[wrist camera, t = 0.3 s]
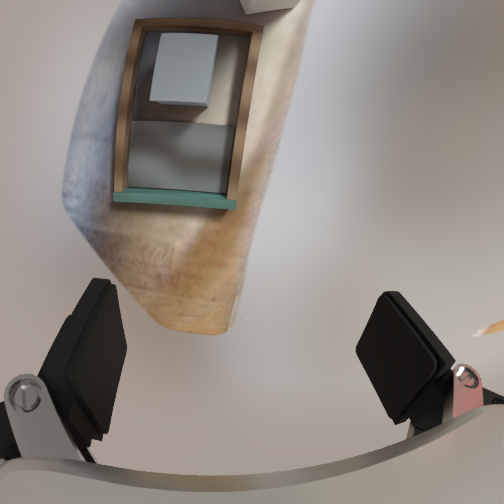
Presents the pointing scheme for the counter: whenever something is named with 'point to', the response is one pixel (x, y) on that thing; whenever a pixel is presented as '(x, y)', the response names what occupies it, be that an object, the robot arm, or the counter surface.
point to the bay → (181, 133)
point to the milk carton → (266, 5)
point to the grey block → (184, 69)
